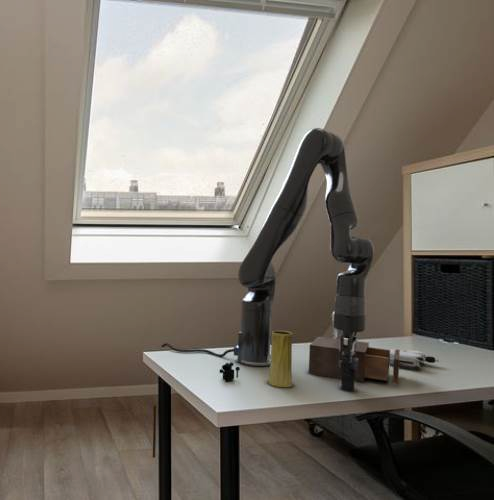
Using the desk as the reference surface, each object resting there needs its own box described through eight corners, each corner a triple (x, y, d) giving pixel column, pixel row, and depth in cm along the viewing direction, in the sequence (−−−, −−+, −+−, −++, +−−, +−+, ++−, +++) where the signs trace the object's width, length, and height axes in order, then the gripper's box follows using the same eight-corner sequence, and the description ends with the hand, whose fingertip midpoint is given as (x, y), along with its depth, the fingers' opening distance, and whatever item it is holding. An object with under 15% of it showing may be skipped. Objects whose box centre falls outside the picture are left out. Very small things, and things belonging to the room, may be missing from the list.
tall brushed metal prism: (338, 389, 127) (339, 357, 127) (339, 386, 129) (340, 355, 129) (356, 392, 125) (357, 360, 124) (357, 389, 127) (358, 358, 127)
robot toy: (402, 360, 163) (376, 361, 155) (404, 347, 163) (377, 348, 155) (441, 369, 152) (414, 371, 145) (442, 355, 152) (415, 356, 145)
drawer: (418, 375, 139) (419, 352, 138) (419, 387, 127) (420, 362, 127) (348, 365, 148) (349, 343, 148) (343, 375, 137) (344, 352, 136)
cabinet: (367, 370, 146) (368, 342, 146) (363, 382, 133) (365, 352, 133) (316, 362, 154) (317, 336, 153) (308, 373, 141) (309, 344, 141)
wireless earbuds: (220, 383, 130) (221, 364, 130) (214, 380, 132) (215, 362, 132) (240, 379, 133) (241, 362, 133) (234, 377, 135) (235, 359, 135)
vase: (280, 388, 126) (282, 335, 126) (263, 382, 131) (265, 331, 131) (296, 386, 129) (298, 333, 128) (279, 379, 134) (281, 329, 134)
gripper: (337, 307, 134) (335, 364, 135) (330, 313, 122) (328, 376, 123) (367, 310, 130) (365, 368, 131) (363, 317, 118) (360, 381, 119)
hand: (347, 372), depth 127 cm, fingers open, 8 cm apart
